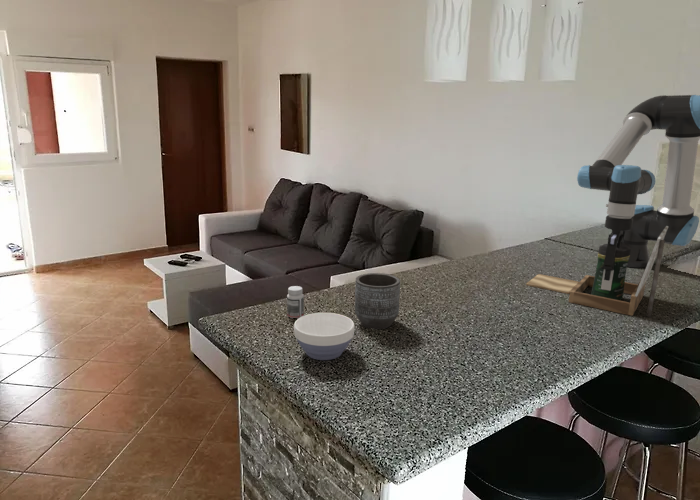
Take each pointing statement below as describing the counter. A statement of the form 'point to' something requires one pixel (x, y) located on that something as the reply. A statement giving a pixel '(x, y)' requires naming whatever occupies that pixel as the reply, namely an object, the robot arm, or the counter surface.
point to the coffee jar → (618, 275)
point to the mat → (552, 283)
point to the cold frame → (629, 288)
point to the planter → (377, 299)
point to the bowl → (324, 334)
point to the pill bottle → (295, 302)
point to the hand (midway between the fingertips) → (608, 285)
